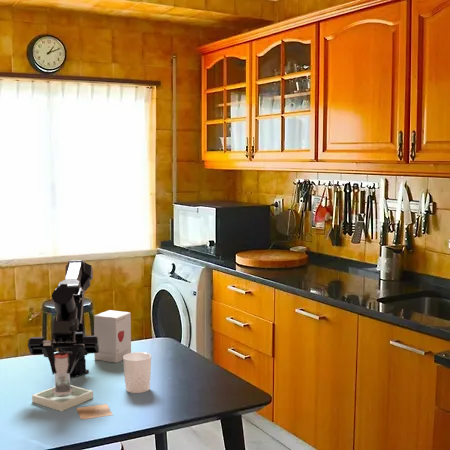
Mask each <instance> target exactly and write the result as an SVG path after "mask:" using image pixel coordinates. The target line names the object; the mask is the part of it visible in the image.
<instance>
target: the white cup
mask: <svg viewBox="0 0 450 450" xmlns="http://www.w3.org/2000/svg"><path fill="white" fill-rule="evenodd" d="M122 362H123V373H124V374H123V375H124V383H125V390H126V391H127V392H129V393H133V394H137V393H138V394H139V393H145V392H148V391H150V389H151V386H150V385H151V375H152V374H151V373H152V372H151V371H152V369H151V368H152V355H151V354H150V353H149V352H143V351H137V352H134V351H133V352H131V353H129V354H126V355H124V356H123V360H122Z"/></svg>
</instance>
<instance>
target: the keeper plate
mask: <svg viewBox="0 0 450 450" xmlns="http://www.w3.org/2000/svg"><path fill="white" fill-rule="evenodd" d="M76 411H77V412H78V413H77V414H78V416H79V417H80V420H88V419H95V418H100V417H101V418H102V417H108V416H113V412H112V411H111V409H110V407H109V405H108V403H103V404H96V405H89V406H82V407H77V408H76Z"/></svg>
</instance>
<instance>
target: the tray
mask: <svg viewBox="0 0 450 450" xmlns="http://www.w3.org/2000/svg"><path fill="white" fill-rule="evenodd" d="M70 387H72V388H73V394H72V395H70V396H66V397H55V396H53V395H52V390H53V389H54V388H55V386H53V387H51V388H48V389H45V390H42V391H40V392H37V393H34V394H32V395H31V399H32V400H31V401H32V403H33V404H34V403H35V404H38V405H40V406H44V407H47V408H50V409H53V410H56V411H59V412H63V411H65V410H68V409H71V408H73V407H75V406H77V405H80V404H82V403H84V402H86V401H89V400H91V399H93V398H94V391H93V390H91V389H87V388H83V387H81V386H77V385H76V386H75V385H72V384H70Z"/></svg>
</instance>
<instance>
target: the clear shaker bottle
mask: <svg viewBox="0 0 450 450" xmlns="http://www.w3.org/2000/svg"><path fill="white" fill-rule="evenodd" d="M69 365H70V360H69V353H68V352H59V351H58V352H56V353H55V352H54V367H55V373H54V387H55V388H54V389H53V390H52V395H53V396H55V397H66V396H70V395H72V394H73V388H72V387H70V385H71V377H70V374H69Z"/></svg>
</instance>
